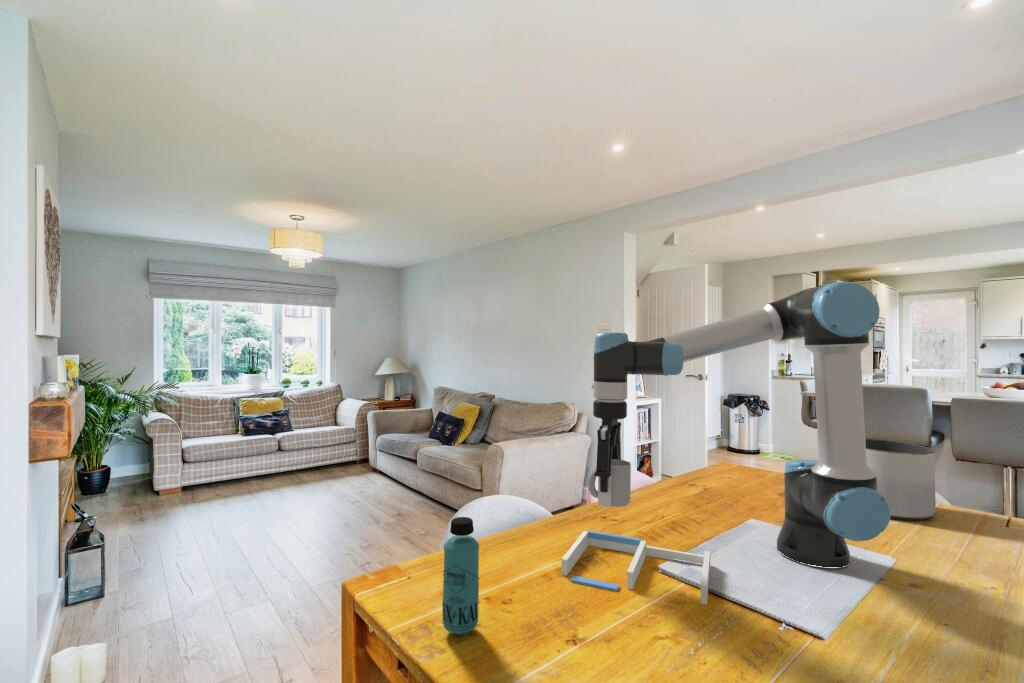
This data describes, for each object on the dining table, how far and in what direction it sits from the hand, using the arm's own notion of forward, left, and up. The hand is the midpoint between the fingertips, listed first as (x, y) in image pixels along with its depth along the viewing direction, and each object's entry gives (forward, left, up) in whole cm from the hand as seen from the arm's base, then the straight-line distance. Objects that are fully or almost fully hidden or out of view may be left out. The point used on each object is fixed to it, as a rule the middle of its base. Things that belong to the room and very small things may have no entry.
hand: (608, 500), depth 110 cm
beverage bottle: (+18, +35, -16) cm, 43 cm away
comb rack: (-6, -2, -16) cm, 17 cm away
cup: (0, +1, 0) cm, 1 cm away
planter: (-71, -77, -16) cm, 106 cm away
